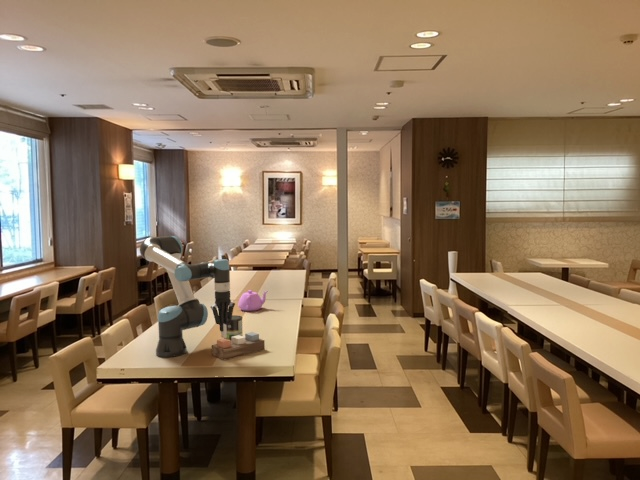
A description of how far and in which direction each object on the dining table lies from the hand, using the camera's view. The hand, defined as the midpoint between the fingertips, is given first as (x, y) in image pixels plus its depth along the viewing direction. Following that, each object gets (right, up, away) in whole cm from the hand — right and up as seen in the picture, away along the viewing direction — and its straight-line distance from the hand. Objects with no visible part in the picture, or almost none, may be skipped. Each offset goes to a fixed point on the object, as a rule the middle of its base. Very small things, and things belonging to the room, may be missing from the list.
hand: (224, 337), depth 250 cm
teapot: (0, -1, +110) cm, 110 cm away
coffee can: (+1, -8, +25) cm, 26 cm away
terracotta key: (0, -5, +1) cm, 5 cm away
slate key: (+12, -3, +12) cm, 18 cm away
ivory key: (+6, -4, +6) cm, 10 cm away
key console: (+6, -9, +7) cm, 13 cm away
